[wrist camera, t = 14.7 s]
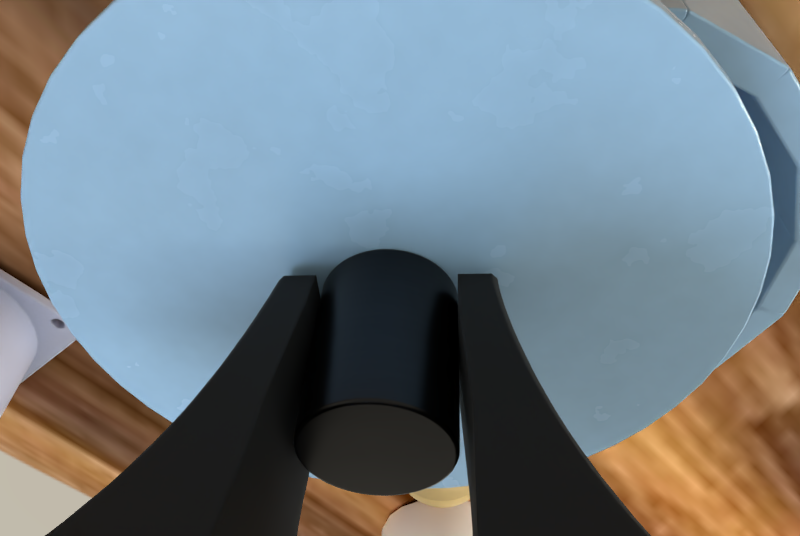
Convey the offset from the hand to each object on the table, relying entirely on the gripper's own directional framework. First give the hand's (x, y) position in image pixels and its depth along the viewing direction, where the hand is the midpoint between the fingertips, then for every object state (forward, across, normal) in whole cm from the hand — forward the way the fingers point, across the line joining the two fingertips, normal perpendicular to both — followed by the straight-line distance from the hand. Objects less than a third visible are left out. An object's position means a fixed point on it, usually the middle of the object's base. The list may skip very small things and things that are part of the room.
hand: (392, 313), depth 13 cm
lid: (+1, 0, 0) cm, 1 cm away
